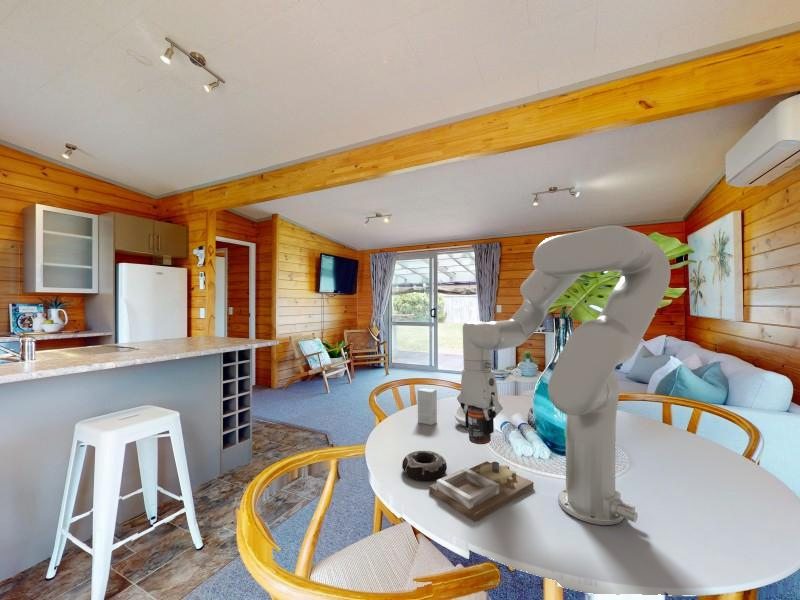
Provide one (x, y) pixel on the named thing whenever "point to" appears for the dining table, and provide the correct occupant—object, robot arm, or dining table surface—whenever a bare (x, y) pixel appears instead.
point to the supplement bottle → (477, 426)
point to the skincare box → (427, 406)
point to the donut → (424, 465)
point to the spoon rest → (460, 416)
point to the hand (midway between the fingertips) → (479, 429)
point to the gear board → (480, 489)
